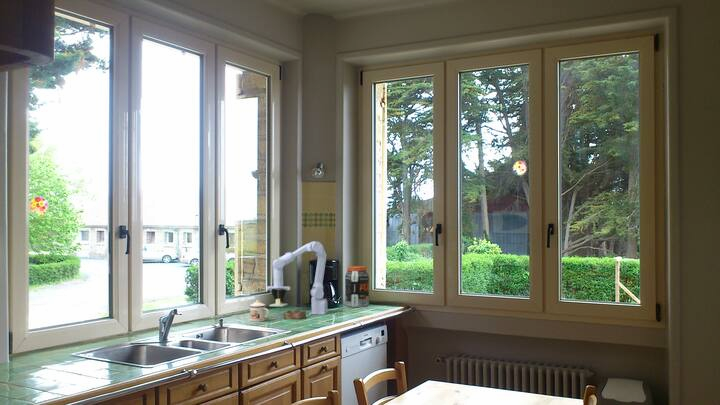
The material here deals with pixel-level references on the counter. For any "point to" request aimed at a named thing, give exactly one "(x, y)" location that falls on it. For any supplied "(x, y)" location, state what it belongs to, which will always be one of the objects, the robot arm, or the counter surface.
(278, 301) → the lid
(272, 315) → the rubber mat
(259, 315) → the teacup with lid
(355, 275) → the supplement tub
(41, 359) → the counter surface
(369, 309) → the counter surface
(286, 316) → the walnut box
